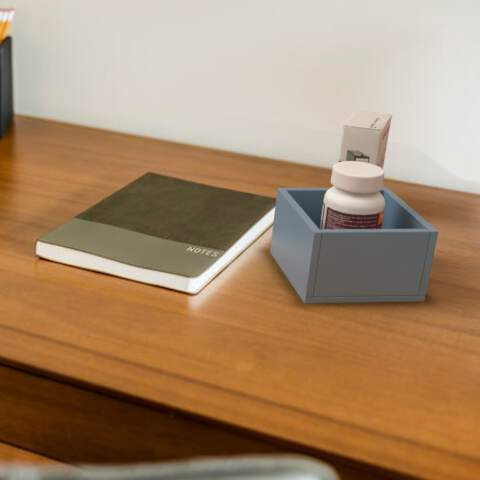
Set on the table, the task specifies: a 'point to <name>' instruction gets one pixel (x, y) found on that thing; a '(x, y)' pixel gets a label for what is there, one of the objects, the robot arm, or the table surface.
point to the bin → (352, 251)
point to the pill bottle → (354, 197)
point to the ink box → (365, 137)
